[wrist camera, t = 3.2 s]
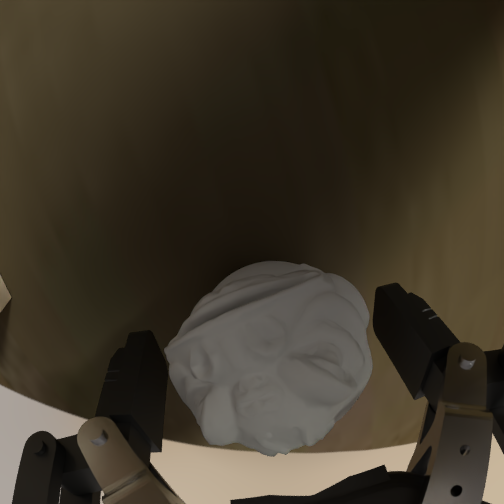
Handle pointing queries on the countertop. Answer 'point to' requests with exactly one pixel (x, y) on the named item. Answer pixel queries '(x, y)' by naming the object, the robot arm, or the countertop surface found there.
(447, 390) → the robot arm
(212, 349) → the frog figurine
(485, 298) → the countertop surface
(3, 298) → the plinth
